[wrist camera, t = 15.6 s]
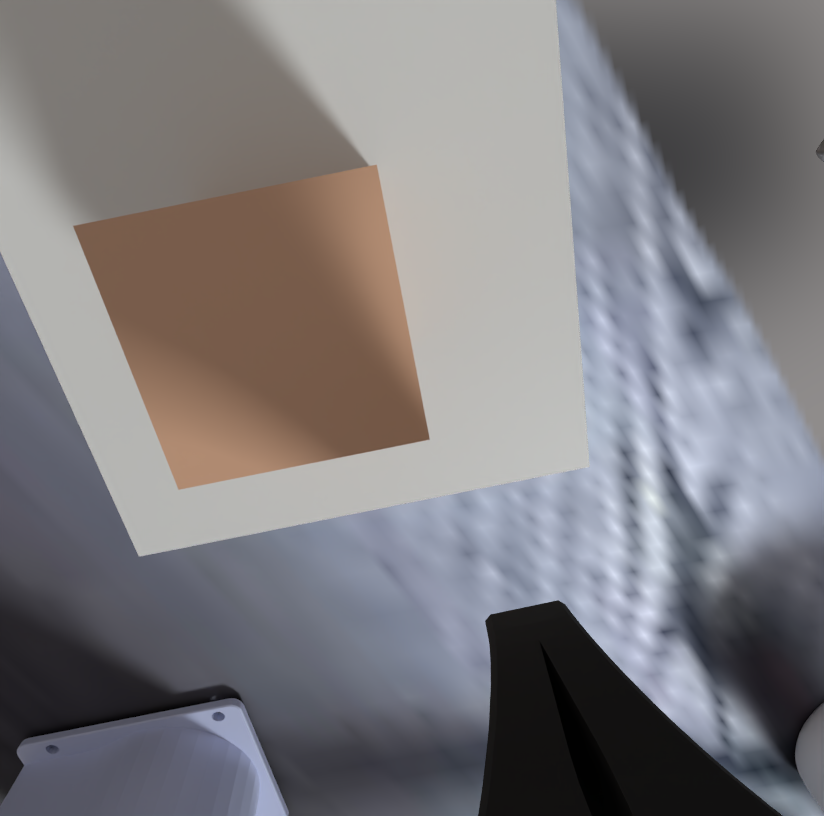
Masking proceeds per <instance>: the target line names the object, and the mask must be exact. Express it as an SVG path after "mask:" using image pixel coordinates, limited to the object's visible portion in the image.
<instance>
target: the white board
mask: <svg viewBox="0 0 824 816" xmlns="http://www.w3.org/2000/svg"><path fill="white" fill-rule="evenodd" d="M372 165H377V168H378V173H379V179H380V184H381V189H382V194H383V199H384V205H385V210H386V215H387V220H388V225H389V230H390V236H391V241H392V246H393V251H394V256H395V262H396V267H397V272H398V277H399V282H400V287H401V293H402V298H403V303H404V308H405V313H406V319H407V324H408V329H409V334H410V339H411V344H412V350H413V355H414V360H415V365H416V370H417V376H418V381H419V386H420V391H421V396H422V401H423V407H424V412H425V417H426V422H427V427H428V433H429V438H430V440H426V441H421V442H416V443H411V444H406V445H401V446H396V447H391V448H386V449H381V450H376V451H371V452H366V453H361V454H356V455H351V456H346V457H341V458H336V459H331V460H326V461H321V462H316V463H310V464H305V465H300V466H295V467H290V468H285V469H280V470H275V471H270V472H265V473H260V474H255V475H250V476H245V477H240V478H235V479H230V480H225V481H220V482H215V483H210V484H205V485H200V486H195V487H190V488H185V489H180V490H178V487H177V485H176V482H175V480H174V477H173V475H172V472H171V470H170V467H169V465H168V462H167V460H166V457H165V455H164V452H163V450H162V447H161V445H160V442H159V440H158V437H157V435H156V432H155V430H154V427H153V425H152V422H151V420H150V417H149V415H148V412H147V410H146V407H145V405H144V402H143V400H142V397H141V395H140V392H139V390H138V387H137V385H136V382H135V380H134V377H133V375H132V372H131V370H130V367H129V365H128V362H127V360H126V357H125V355H124V352H123V350H122V347H121V345H120V342H119V340H118V337H117V335H116V332H115V330H114V327H113V325H112V322H111V320H110V317H109V315H108V312H107V310H106V307H105V305H104V302H103V300H102V297H101V295H100V292H99V290H98V287H97V285H96V282H95V280H94V277H93V275H92V272H91V270H90V267H89V265H88V262H87V260H86V257H85V255H84V252H83V250H82V247H81V245H80V242H79V240H78V237H77V235H76V232H75V230H74V227H73V226H75V225H80V224H85V223H90V222H95V221H100V220H105V219H110V218H115V217H120V216H125V215H129V214H134V213H139V212H144V211H149V210H154V209H159V208H164V207H169V206H174V205H179V204H184V203H189V202H194V201H199V200H204V199H209V198H214V197H219V196H224V195H229V194H233V193H238V192H243V191H248V190H253V189H258V188H263V187H268V186H273V185H278V184H283V183H288V182H293V181H298V180H303V179H308V178H313V177H318V176H323V175H328V174H333V173H337V172H342V171H347V170H352V169H357V168H362V167H367V166H372ZM0 252H1V254H2V257H3V259H4V261H5V263H6V265H7V268H8V270H9V272H10V274H11V276H12V279H13V281H14V283H15V285H16V287H17V290H18V292H19V294H20V296H21V298H22V301H23V303H24V305H25V307H26V309H27V312H28V314H29V316H30V318H31V320H32V323H33V325H34V327H35V329H36V331H37V334H38V336H39V338H40V340H41V342H42V345H43V347H44V349H45V351H46V353H47V355H48V358H49V360H50V362H51V364H52V366H53V369H54V371H55V373H56V375H57V377H58V380H59V382H60V384H61V386H62V388H63V391H64V393H65V395H66V397H67V399H68V402H69V404H70V406H71V408H72V410H73V413H74V415H75V417H76V419H77V421H78V424H79V426H80V428H81V430H82V432H83V435H84V437H85V439H86V441H87V443H88V446H89V448H90V450H91V452H92V454H93V457H94V459H95V461H96V463H97V465H98V468H99V470H100V472H101V474H102V476H103V479H104V481H105V483H106V485H107V487H108V490H109V492H110V494H111V496H112V498H113V500H114V503H115V505H116V507H117V509H118V511H119V514H120V516H121V518H122V520H123V522H124V525H125V527H126V529H127V531H128V533H129V536H130V538H131V540H132V542H133V544H134V547H135V549H136V551H137V553H138V555H139V556H144V555H149V554H154V553H159V552H165V551H170V550H175V549H180V548H185V547H190V546H195V545H200V544H205V543H210V542H215V541H220V540H225V539H230V538H235V537H240V536H245V535H250V534H255V533H260V532H265V531H270V530H275V529H280V528H285V527H290V526H295V525H300V524H305V523H310V522H315V521H320V520H325V519H330V518H335V517H340V516H345V515H350V514H355V513H360V512H365V511H370V510H375V509H380V508H386V507H391V506H396V505H401V504H406V503H411V502H416V501H421V500H426V499H431V498H436V497H441V496H446V495H451V494H456V493H461V492H466V491H471V490H476V489H481V488H486V487H491V486H496V485H501V484H506V483H511V482H516V481H521V480H526V479H531V478H536V477H541V476H546V475H551V474H556V473H561V472H566V471H571V470H576V469H581V468H586V467H589V453H588V439H587V426H586V412H585V398H584V384H583V370H582V357H581V343H580V329H579V315H578V301H577V288H576V274H575V260H574V246H573V232H572V219H571V205H570V191H569V177H568V163H567V150H566V136H565V122H564V108H563V94H562V81H561V67H560V53H559V39H558V26H557V12H556V0H0Z"/></svg>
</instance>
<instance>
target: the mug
mask: <svg viewBox="0 0 824 816" xmlns="http://www.w3.org/2000/svg"><path fill="white" fill-rule="evenodd" d="M795 761H796V765H797V769H798V772H799V774H800V776H801V778H802V780H803V782H804V784H805V785H806V787H807V789H808V790H809V792H810V793H811V795H812V796H813V798H814V799H815V801H816V802H817V803H818V805H819V806H820V808H821V809H822V810H823V812H824V702H823V703H822V704H821V705H820V706H819V707H818V708H817V709H816V710H815V711H814V712H813V713H812V714H811V715H810V716H809V718H808V719H807V720H806V722H805V723H804V725H803V727H802V729H801V731H800V733H799V736H798V739H797V742H796V749H795Z"/></svg>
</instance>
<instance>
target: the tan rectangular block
mask: <svg viewBox="0 0 824 816" xmlns="http://www.w3.org/2000/svg"><path fill="white" fill-rule="evenodd" d="M73 227H74V230H75V232H76V235H77V237H78V240H79V242H80V245H81V247H82V250H83V252H84V255H85V257H86V260H87V262H88V265H89V267H90V270H91V272H92V275H93V277H94V280H95V282H96V285H97V287H98V290H99V292H100V295H101V297H102V300H103V302H104V305H105V307H106V310H107V312H108V315H109V317H110V320H111V322H112V325H113V327H114V330H115V332H116V335H117V337H118V340H119V342H120V345H121V347H122V350H123V352H124V355H125V357H126V360H127V362H128V365H129V367H130V370H131V372H132V375H133V377H134V380H135V382H136V385H137V387H138V390H139V392H140V395H141V397H142V400H143V402H144V405H145V407H146V410H147V412H148V415H149V417H150V420H151V422H152V425H153V427H154V430H155V432H156V435H157V437H158V440H159V442H160V445H161V447H162V450H163V452H164V455H165V457H166V460H167V462H168V465H169V467H170V470H171V472H172V475H173V477H174V480H175V482H176V485H177V487H178V490H180V489H185V488H190V487H195V486H200V485H205V484H210V483H215V482H220V481H225V480H230V479H235V478H240V477H245V476H250V475H255V474H260V473H265V472H270V471H275V470H280V469H285V468H290V467H295V466H300V465H305V464H310V463H316V462H321V461H326V460H331V459H336V458H341V457H346V456H351V455H356V454H361V453H366V452H371V451H376V450H381V449H386V448H391V447H396V446H401V445H406V444H411V443H416V442H421V441H426V440H430V438H429V433H428V427H427V422H426V417H425V412H424V407H423V401H422V396H421V391H420V386H419V381H418V376H417V370H416V365H415V360H414V355H413V350H412V344H411V339H410V334H409V329H408V324H407V319H406V313H405V308H404V303H403V298H402V293H401V287H400V282H399V277H398V272H397V267H396V262H395V256H394V251H393V246H392V241H391V236H390V230H389V225H388V220H387V215H386V210H385V205H384V199H383V194H382V189H381V184H380V179H379V173H378V168H377V165H372V166H367V167H362V168H357V169H352V170H347V171H342V172H337V173H333V174H328V175H323V176H318V177H313V178H308V179H303V180H298V181H293V182H288V183H283V184H278V185H273V186H268V187H263V188H258V189H253V190H248V191H243V192H238V193H233V194H229V195H224V196H219V197H214V198H209V199H204V200H199V201H194V202H189V203H184V204H179V205H174V206H169V207H164V208H159V209H154V210H149V211H144V212H139V213H134V214H129V215H125V216H120V217H115V218H110V219H105V220H100V221H95V222H90V223H85V224H80V225H75V226H73Z"/></svg>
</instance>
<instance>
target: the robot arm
mask: <svg viewBox="0 0 824 816" xmlns="http://www.w3.org/2000/svg"><path fill="white" fill-rule="evenodd" d="M485 622H486V627H487V633H488V638H489V644H490V657H491V697H490V718H489V733H488V743H487V752H486V761H485V770H484V779H483V787H482V794H481V801H480V808H479V814H478V816H782V815H781V814H780V813H779V812H777V811H776V810H775V809H773V808H772V807H771V806H770V805H768V804H767V803H766V802H765V801H763V800H762V799H761V798H760V797H759V796H757V795H756V794H755V793H754V792H752V791H751V790H750V789H749V788H748V787H746V786H745V785H744V784H743V783H741V782H740V781H739V780H738V779H737V778H735V777H734V776H733V775H732V774H731V773H730V772H728V771H727V770H726V769H725V768H724V767H723V766H721V765H720V764H719V763H718V762H717V761H716V760H714V759H713V758H712V757H711V756H710V755H709V754H708V753H707V752H705V751H704V750H703V749H702V748H701V747H700V746H699V745H698V744H697V743H695V742H694V741H693V740H692V739H691V738H690V737H689V736H688V735H687V734H686V733H685V732H683V731H682V730H681V729H680V728H679V727H678V726H677V725H676V724H675V723H674V722H673V721H672V720H671V719H669V718H668V717H667V716H666V715H665V714H664V713H663V712H662V711H661V710H660V709H659V708H658V707H657V706H656V705H655V704H654V703H653V702H652V701H651V700H650V699H649V698H648V697H647V696H646V695H645V694H644V693H643V692H642V691H641V690H640V689H639V688H638V687H637V686H636V685H635V684H634V683H633V682H632V681H631V680H630V679H629V678H628V677H627V676H626V675H625V674H624V673H623V672H622V671H621V669H620V668H619V667H618V666H617V665H616V664H615V663H614V662H613V661H612V660H611V659H610V658H609V657H608V655H607V654H606V653H605V652H604V651H603V650H602V649H601V648H600V646H599V645H598V644H597V643H596V642H595V641H594V640H593V639H592V637H591V636H590V635H589V634H588V633H587V632H586V630H585V629H584V628H583V627H582V626H581V624H580V623H579V622H578V621H577V619H576V618H575V617H574V616H573V614H572V613H571V612H570V610H569V609H568V608H567V606H566V605H565V604H563V603H562V602H560V601H559V600H558V601H553V602H548V603H544V604H539V605H534V606H529V607H525V608H520V609H515V610H510V611H506V612H501V613H496V614H491V615H490V616H489V617H488V618H487V620H486V621H485ZM218 712H221V713H218ZM17 755H18V757H19V758H20V760H21V761H22V763H23V764H24V767H23V768H22V770H21V772H20V773H19V775H18V777H17V779H16V780H15V782H14V784H13V785H12V787H11V789H10V790H9V792H8V794H7V795H6V797H5V799H4V801H3V802H2V804H1V806H0V816H288V815H289V812H288V809H287V807H286V804H285V802H284V799H283V797H282V795H281V792H280V790H279V787H278V785H277V783H276V780H275V778H274V776H273V773H272V771H271V768H270V766H269V764H268V761H267V759H266V756H265V754H264V752H263V749H262V747H261V745H260V742H259V740H258V737H257V735H256V733H255V730H254V728H253V725H252V723H251V721H250V718H249V716H248V714H247V711H246V709H245V706H244V704H243V703H242V702H241V701H240V700H238V699H235V698H228V699H223V700H218V701H213V702H208V703H203V704H198V705H193V706H188V707H183V708H178V709H173V710H168V711H163V712H158V713H153V714H148V715H142V716H137V717H132V718H127V719H122V720H117V721H112V722H107V723H102V724H97V725H92V726H87V727H82V728H77V729H72V730H67V731H62V732H57V733H52V734H46V735H41V736H36V737H31V738H27V739H25V740H23V741H22V742H21V744H20V745H19V747H18V749H17Z"/></svg>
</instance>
